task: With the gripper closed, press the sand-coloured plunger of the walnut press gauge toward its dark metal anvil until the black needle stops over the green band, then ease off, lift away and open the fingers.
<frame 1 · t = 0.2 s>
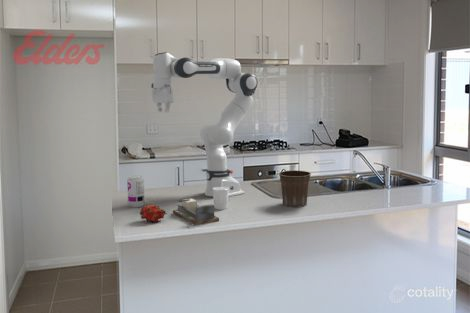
hand: (163, 111, 242), 47 cm above the worktop, tool pointing down, fingers open, 8 cm apart
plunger: (187, 205, 222), point 4 cm above the worktop, slide at 0.0 cm
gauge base: (195, 216, 218), on the worktop
supplement can: (136, 206, 241), on the worktop
dragon fruit: (153, 221, 212), on the worktop
white cup: (221, 208, 234), on the worktop
plant pot: (294, 204, 240), on the worktop
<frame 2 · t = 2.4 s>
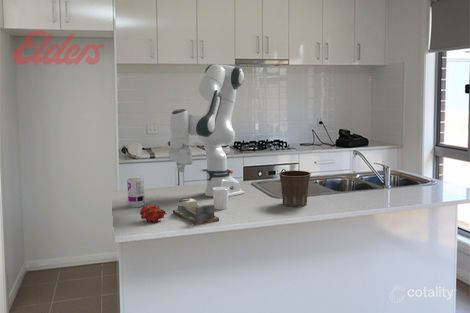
hand: (181, 171, 228), 19 cm above the worktop, tool pointing down, fingers closed
nothing on the worktop moved.
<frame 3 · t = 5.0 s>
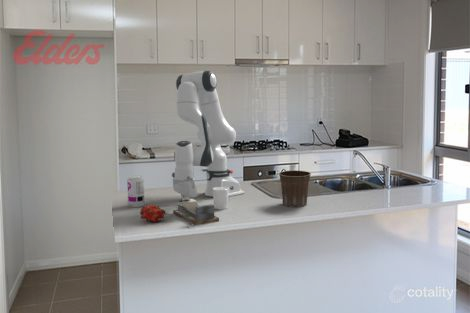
hand: (185, 203, 227), 4 cm above the worktop, tool pointing down, fingers closed
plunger: (187, 205, 222), point 4 cm above the worktop, slide at 0.3 cm, touching gripper
everything else where it was.
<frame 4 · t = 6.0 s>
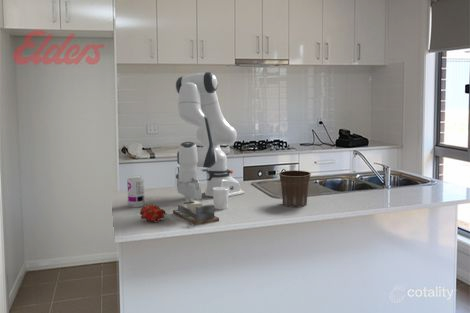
hand: (189, 205, 222), 4 cm above the worktop, tool pointing down, fingers closed
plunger: (191, 207, 218), point 4 cm above the worktop, slide at 5.2 cm, touching gripper
everything else where it was.
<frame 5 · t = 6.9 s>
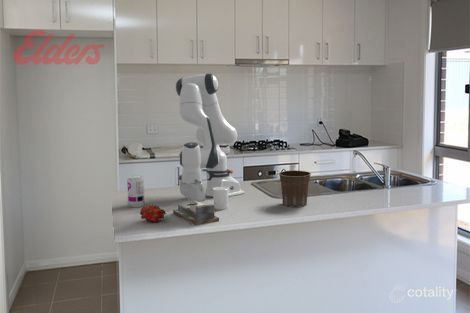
hand: (192, 207, 219), 4 cm above the worktop, tool pointing down, fingers closed
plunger: (195, 209, 215), point 4 cm above the worktop, slide at 8.8 cm, touching gripper
everything else where it was.
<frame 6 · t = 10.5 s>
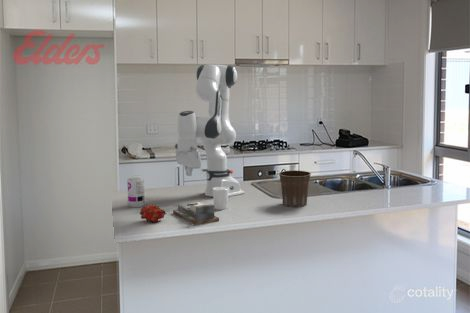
hand: (188, 175, 221), 19 cm above the worktop, tool pointing down, fingers closed
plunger: (195, 209, 214), point 4 cm above the worktop, slide at 8.8 cm
everything else where it was.
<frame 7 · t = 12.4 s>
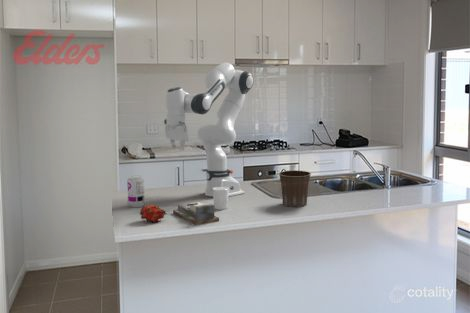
hand: (177, 149, 232), 29 cm above the worktop, tool pointing down, fingers open, 8 cm apart
nothing on the worktop moved.
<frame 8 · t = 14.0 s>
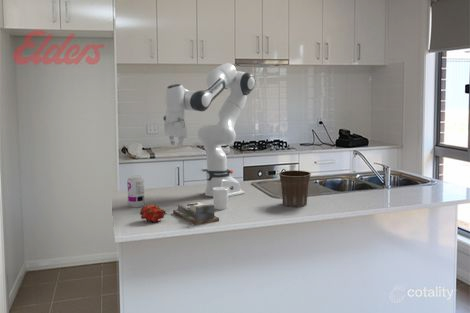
hand: (176, 145, 233), 31 cm above the worktop, tool pointing down, fingers open, 8 cm apart
nothing on the worktop moved.
at the end: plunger slide at 8.8 cm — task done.
